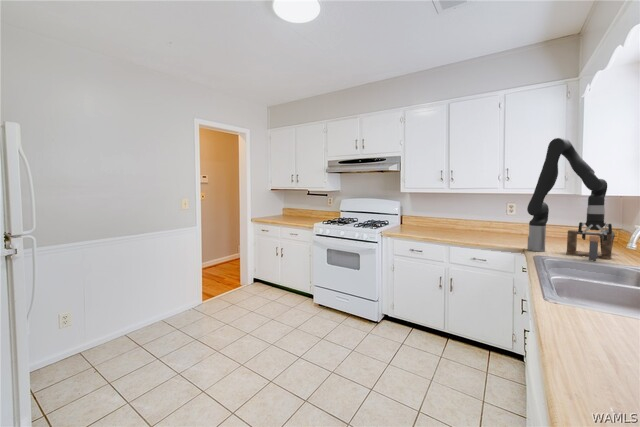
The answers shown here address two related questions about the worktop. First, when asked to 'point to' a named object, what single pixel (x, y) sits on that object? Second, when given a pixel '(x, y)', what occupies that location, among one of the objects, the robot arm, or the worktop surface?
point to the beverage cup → (601, 237)
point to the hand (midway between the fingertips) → (594, 240)
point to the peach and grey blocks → (593, 247)
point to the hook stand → (572, 251)
